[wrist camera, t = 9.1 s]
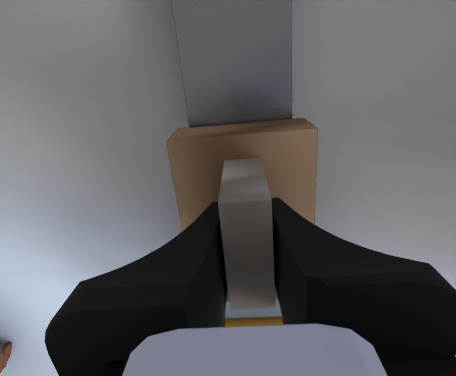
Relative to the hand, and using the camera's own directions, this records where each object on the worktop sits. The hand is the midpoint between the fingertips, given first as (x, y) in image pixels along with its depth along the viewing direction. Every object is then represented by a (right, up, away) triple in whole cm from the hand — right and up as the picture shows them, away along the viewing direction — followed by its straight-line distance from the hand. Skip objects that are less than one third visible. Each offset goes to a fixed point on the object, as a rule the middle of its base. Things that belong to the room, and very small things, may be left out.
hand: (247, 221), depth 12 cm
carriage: (0, +2, +3) cm, 3 cm away
